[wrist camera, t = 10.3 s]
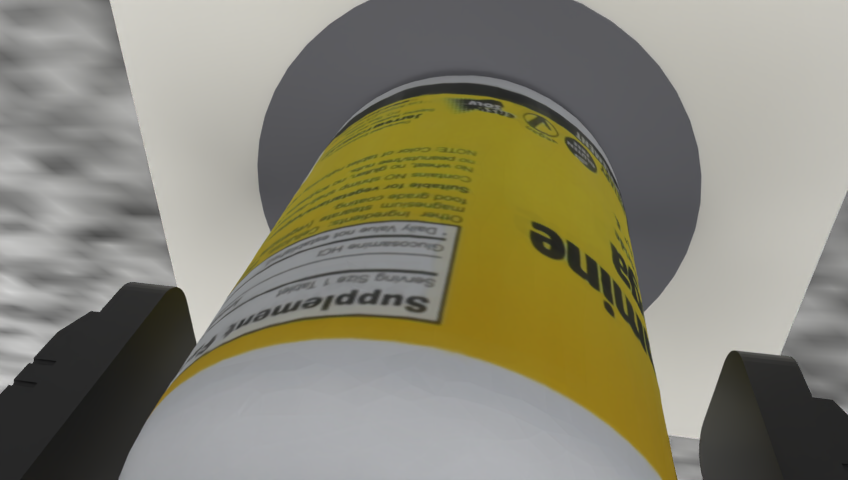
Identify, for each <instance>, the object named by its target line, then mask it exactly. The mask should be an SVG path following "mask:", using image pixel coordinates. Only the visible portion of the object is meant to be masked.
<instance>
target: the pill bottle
mask: <svg viewBox="0 0 848 480" xmlns="http://www.w3.org/2000/svg"><path fill="white" fill-rule="evenodd" d="M119 480H677V476H676V472H675V467H674V463H673V458H672V453H671V447H670V442H669V437H668V433H667V428H666V423H665V418H664V413H663V408H662V403H661V395H660V389H659V385H658V381H657V377H656V372H655V368H654V364H653V360H652V355H651V349H650V343H649V338H648V333H647V328H646V323H645V317H644V312H643V306H642V300H641V294H640V289H639V284H638V276H637V272H636V267H635V262H634V256H633V251H632V246H631V241H630V235H629V228H628V221H627V216H626V212H625V208H624V204H623V200H622V196H621V193H620V190H619V186H618V183H617V179H616V177H615V174H614V172H613V169H612V167H611V165H610V163H609V161H608V159H607V157H606V155H605V153H604V152H603V150H602V148H601V147H600V146H599V144H598V143H597V141H596V140H595V138H594V137H593V136H592V134H591V133H590V132H589V131H588V130H587V129H586V128H585V127H584V126H583V125H582V123H581V122H580V121H579V120H578V119H577V118H576V117H574V116H573V115H572V114H570V113H569V112H568V111H566V110H565V109H564V108H563V107H561V106H560V105H558V104H557V103H555V102H554V101H552V100H551V99H549V98H547V97H545V96H543V95H541V94H539V93H537V92H535V91H533V90H531V89H529V88H527V87H524V86H521V85H518V84H515V83H512V82H509V81H506V80H502V79H497V78H491V77H484V76H473V75H471V76H441V77H432V78H427V79H423V80H419V81H414V82H411V83H408V84H404V85H402V86H399V87H397V88H394V89H392V90H390V91H388V92H386V93H384V94H382V95H381V96H379V97H377V98H375V99H373V100H372V101H371V102H369V103H368V104H366V105H365V106H364V107H362V108H361V109H360V110H359V111H358V112H356V113H355V114H354V115H353V116H352V117H351V118H350V119H349V120H348V121H347V122H346V123H345V124H344V125H343V126H342V128H341V129H340V130H339V131H338V133H337V134H336V135H335V136H334V138H333V139H332V140H331V142H330V143H329V144H328V146H327V147H326V148H325V150H324V151H323V152H322V154H321V155H320V156H319V158H318V160H317V161H316V163H315V165H314V166H313V168H312V169H311V171H310V172H309V174H308V175H307V177H306V179H305V180H304V182H303V183H302V184H301V186H300V187H299V189H298V191H297V192H296V194H295V195H294V197H293V199H292V200H291V202H290V203H289V205H288V206H287V208H286V209H285V211H284V212H283V214H282V215H281V217H280V219H279V220H278V222H277V223H276V225H275V226H274V228H273V229H272V231H271V232H270V234H269V235H268V237H267V238H266V240H265V241H264V243H263V244H262V246H261V247H260V249H259V250H258V252H257V253H256V255H255V256H254V258H253V260H252V261H251V263H250V264H249V266H248V267H247V269H246V270H245V272H244V273H243V275H242V276H241V278H240V279H239V281H238V282H237V284H236V285H235V287H234V288H233V290H232V291H231V293H230V294H229V295H228V297H227V299H226V300H225V302H224V304H223V305H222V307H221V308H220V310H219V311H218V313H217V314H216V316H215V317H214V319H213V320H212V322H211V323H210V325H209V327H208V328H207V330H206V331H205V333H204V335H203V336H202V337H201V339H200V340H199V342H198V343H197V345H196V346H195V348H194V349H193V350H192V352H191V353H190V355H189V357H188V358H187V360H186V361H185V363H184V364H183V366H182V368H181V369H180V371H179V372H178V374H177V375H176V376H175V378H174V379H173V380H172V381H171V383H170V384H169V386H168V388H167V390H166V391H165V393H164V394H163V396H162V397H161V399H160V400H159V402H158V403H157V405H156V406H155V408H154V410H153V411H152V413H151V414H150V416H149V417H148V419H147V421H146V423H145V424H144V426H143V428H142V430H141V432H140V433H139V435H138V437H137V439H136V441H135V443H134V444H133V446H132V448H131V450H130V452H129V454H128V457H127V459H126V462H125V464H124V467H123V469H122V472H121V474H120V476H119Z"/></svg>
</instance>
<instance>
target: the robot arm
mask: <svg viewBox="0 0 848 480" xmlns="http://www.w3.org/2000/svg"><path fill="white" fill-rule="evenodd" d="M196 345H197V343H196V338H195V334H194V330H193V325H192V321H191V317H190V312H189V308H188V303H187V299H186V296H185V294H184V292H183V291H182V289H180V288H178V287H172V286H163V285H154V284H145V283H136V282H130V283H127V284H125V285H124V286H123V287H122V288H121V289H120V290H119V291H118V292H117V293H116V294H115V295H114V296H113V298H112V299H111V300H110V301H109V302H108V303H107V304H106V306H105V307H104V308H103V309H102V310H101V311H100V312H93V311H91V312H89V313H87V314H86V315H84V316H83V317H81V318H79V319H78V320H76V321H75V322H73V323H71V324H70V325H68V326H67V327H65V328H63V329H62V330H60V331H59V332H57V333H56V335H55V336H54V337H53V338H52V339H51V340H50V341H49V342H48V343H47V344H46V345H45V346H44V347H43V349H42V350H41V351H40V352H39V353H38V354H37V355H36V356H35V357H34V362H33V363H32V364H31V363H29V364H28V365H27V366H26V367H25V368H24V369H23V370H22V371H21V372H20V373H19V375H18V376H17V377H16V378H15V379H14V384H13V385H12V386H11V385H8V386H7V388H6V389H5V390H4V391H3V392H2V393H1V394H0V480H119V476H120V474H121V472H122V469H123V467H124V464H125V462H126V459H127V457H128V454H129V452H130V450H131V448H132V446H133V444H134V443H135V441H136V439H137V437H138V435H139V433H140V432H141V430H142V428H143V426H144V424H145V423H146V421H147V419H148V417H149V416H150V414H151V413H152V411H153V410H154V408H155V406H156V405H157V403H158V402H159V400H160V399H161V397H162V396H163V394H164V393H165V391H166V390H167V388H168V386H169V384H170V383H171V381H172V380H173V379H174V378H175V376H176V375H177V374H178V372H179V371H180V369H181V368H182V366H183V364H184V363H185V361H186V360H187V358H188V357H189V355H190V353H191V352H192V350H193V349H194V348H195V346H196ZM699 458H700V467H701V473H702V477H703V480H848V415H847V414H846V413H845V412H844V411H843V410H842V409H841V408H840V407H839V406H838V405H837V404H836V403H835V402H834V401H833V400H829V399H821V398H812V395H811V393H810V391H809V388H808V386H807V384H806V382H805V379H804V377H803V375H802V373H801V370H800V368H799V366H798V364H797V362H796V361H795V360H794V359H793V358H792V357H789V356H781V355H772V354H763V353H754V352H745V351H736V350H733V351H731V352H730V353H729V354H728V355H727V357H726V359H725V361H724V364H723V367H722V370H721V373H720V376H719V378H718V381H717V384H716V387H715V390H714V393H713V396H712V398H711V401H710V404H709V407H708V410H707V413H706V416H705V418H704V421H703V425H702V428H701V434H700V443H699Z"/></svg>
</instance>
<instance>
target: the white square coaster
mask: <svg viewBox="0 0 848 480" xmlns="http://www.w3.org/2000/svg"><path fill="white" fill-rule="evenodd" d="M110 3H111V8H112V12H113V16H114V20H115V25H116V29H117V33H118V37H119V42H120V46H121V50H122V54H123V59H124V63H125V67H126V71H127V76H128V80H129V84H130V88H131V93H132V97H133V101H134V105H135V110H136V114H137V118H138V122H139V127H140V131H141V135H142V139H143V144H144V148H145V152H146V157H147V161H148V165H149V169H150V174H151V178H152V182H153V186H154V191H155V195H156V199H157V203H158V208H159V212H160V216H161V220H162V225H163V229H164V233H165V237H166V242H167V246H168V250H169V254H170V259H171V263H172V267H173V271H174V276H175V280H176V284H177V287H178V288H180V289H182V291H183V292H184V294H185V296H186V299H187V303H188V308H189V312H190V317H191V321H192V325H193V330H194V334H195V338H196V343H198V342H199V340H200V339H201V337H202V336H203V335H204V333H205V331H206V330H207V328H208V327H209V325H210V323H211V322H212V320H213V319H214V317H215V316H216V314H217V313H218V311H219V310H220V308H221V307H222V305H223V304H224V302H225V300H226V299H227V297H228V295H229V294H230V293H231V291H232V290H233V288H234V287H235V285H236V284H237V282H238V281H239V279H240V278H241V276H242V275H243V273H244V272H245V270H246V269H247V267H248V266H249V264H250V263H251V261H252V260H253V258H254V256H255V255H256V253H257V252H258V250H259V249H260V247H261V246H262V244H263V243H264V241H265V240H266V238H267V237H268V235H269V234H270V232H271V231H272V229H273V228H274V226H275V225H276V223H277V222H278V220H279V219H280V217H281V215H282V214H283V212H284V211H285V209H286V208H287V206H288V205H289V203H290V202H291V200H292V199H293V197H294V195H295V194H296V192H297V191H298V189H299V187H300V186H301V184H302V183H303V182H304V180H305V179H306V177H307V175H308V174H309V172H310V171H311V169H312V168H313V166H314V165H315V163H316V161H317V160H318V158H319V156H320V155H321V154H322V152H323V151H324V150H325V148H326V147H327V146H328V144H329V143H330V142H331V140H332V139H333V138H334V136H335V135H336V134H337V133H338V131H339V130H340V129H341V128H342V126H343V125H344V124H345V123H346V122H347V121H348V120H349V119H350V118H351V117H352V116H353V115H354V114H355V113H356V112H358V111H359V110H360V109H361V108H362V107H364V106H365V105H366V104H368V103H369V102H371V101H372V100H373V99H375V98H377V97H379V96H381V95H382V94H384V93H386V92H388V91H390V90H392V89H394V88H397V87H399V86H402V85H404V84H408V83H411V82H414V81H419V80H423V79H427V78H432V77H441V76H471V75H473V76H484V77H491V78H497V79H502V80H506V81H509V82H512V83H515V84H518V85H521V86H524V87H527V88H529V89H531V90H533V91H535V92H537V93H539V94H541V95H543V96H545V97H547V98H549V99H551V100H552V101H554V102H555V103H557V104H558V105H560V106H561V107H563V108H564V109H565V110H566V111H568V112H569V113H570V114H572V115H573V116H574V117H576V118H577V119H578V120H579V121H580V122H581V123H582V125H583V126H584V127H585V128H586V129H587V130H588V131H589V132H590V133H591V134H592V136H593V137H594V138H595V140H596V141H597V143H598V144H599V146H600V147H601V148H602V150H603V152H604V153H605V155H606V157H607V159H608V161H609V163H610V165H611V167H612V169H613V172H614V174H615V177H616V179H617V183H618V186H619V190H620V193H621V196H622V200H623V204H624V208H625V212H626V216H627V221H628V228H629V235H630V241H631V246H632V251H633V256H634V262H635V267H636V272H637V276H638V284H639V289H640V294H641V300H642V306H643V312H644V317H645V323H646V328H647V333H648V338H649V343H650V349H651V355H652V360H653V364H654V368H655V372H656V377H657V381H658V385H659V389H660V395H661V403H662V408H663V413H664V418H665V423H666V428H667V433H668V435H670V436H678V437H686V438H694V439H700V434H701V428H702V425H703V421H704V418H705V416H706V413H707V410H708V407H709V404H710V401H711V398H712V396H713V393H714V390H715V387H716V384H717V381H718V378H719V376H720V373H721V370H722V367H723V364H724V361H725V359H726V357H727V355H728V354H729V353H730V352H731V351H733V350H736V351H745V352H754V353H763V354H772V355H780V354H781V352H782V349H783V347H784V344H785V342H786V339H787V337H788V335H789V332H790V330H791V327H792V325H793V322H794V320H795V317H796V315H797V313H798V310H799V308H800V305H801V303H802V300H803V298H804V295H805V293H806V291H807V288H808V286H809V283H810V281H811V278H812V276H813V273H814V271H815V269H816V266H817V264H818V261H819V259H820V256H821V254H822V251H823V249H824V247H825V244H826V242H827V239H828V237H829V234H830V232H831V229H832V227H833V225H834V222H835V220H836V217H837V215H838V212H839V210H840V207H841V205H842V202H843V200H844V198H845V195H846V193H847V190H848V0H110Z"/></svg>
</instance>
